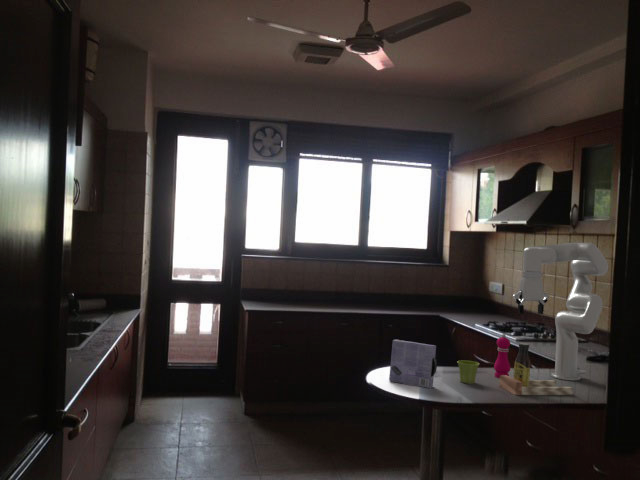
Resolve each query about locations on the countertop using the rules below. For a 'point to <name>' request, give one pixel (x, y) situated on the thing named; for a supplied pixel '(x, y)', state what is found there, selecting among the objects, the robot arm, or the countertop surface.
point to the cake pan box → (413, 363)
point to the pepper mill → (502, 357)
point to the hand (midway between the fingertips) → (530, 313)
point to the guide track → (533, 387)
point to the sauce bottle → (522, 365)
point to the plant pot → (467, 371)
